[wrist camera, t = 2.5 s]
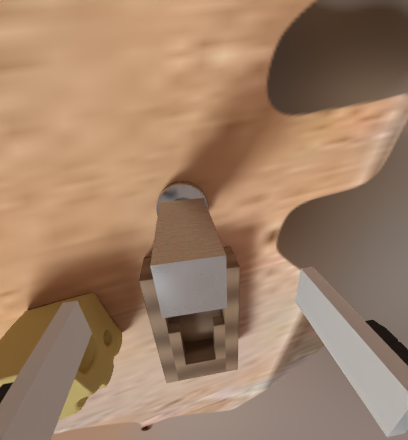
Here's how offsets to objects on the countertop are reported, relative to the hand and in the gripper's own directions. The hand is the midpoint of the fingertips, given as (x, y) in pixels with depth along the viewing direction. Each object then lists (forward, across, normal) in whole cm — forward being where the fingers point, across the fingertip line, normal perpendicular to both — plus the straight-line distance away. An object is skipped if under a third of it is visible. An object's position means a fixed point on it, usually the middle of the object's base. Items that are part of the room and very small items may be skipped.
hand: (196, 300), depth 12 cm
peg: (+15, 0, 0) cm, 15 cm away
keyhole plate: (+15, 0, -18) cm, 23 cm away
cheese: (+15, -18, -16) cm, 29 cm away
